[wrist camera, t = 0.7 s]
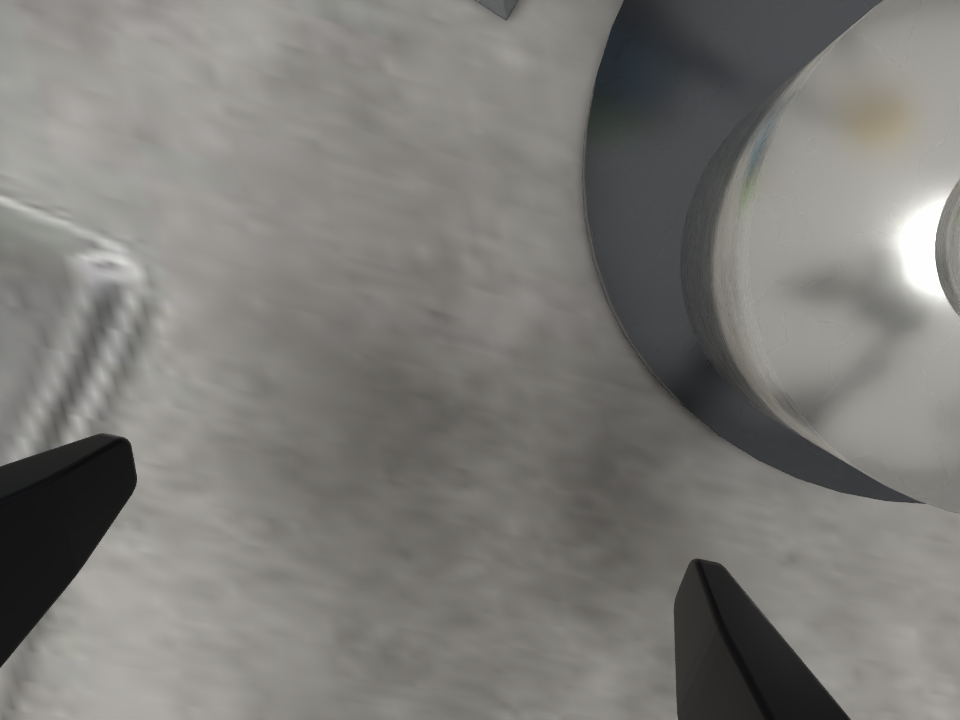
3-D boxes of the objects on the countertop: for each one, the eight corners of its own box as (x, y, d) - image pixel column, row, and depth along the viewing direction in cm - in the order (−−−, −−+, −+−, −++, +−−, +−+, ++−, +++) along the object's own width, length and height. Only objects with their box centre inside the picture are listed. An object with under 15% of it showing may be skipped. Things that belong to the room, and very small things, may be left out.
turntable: (1307, 443, 21) (1404, 463, 19) (625, 517, 24) (634, 543, 22) (1304, -301, 18) (1416, -387, 16) (539, -113, 21) (538, -163, 19)
